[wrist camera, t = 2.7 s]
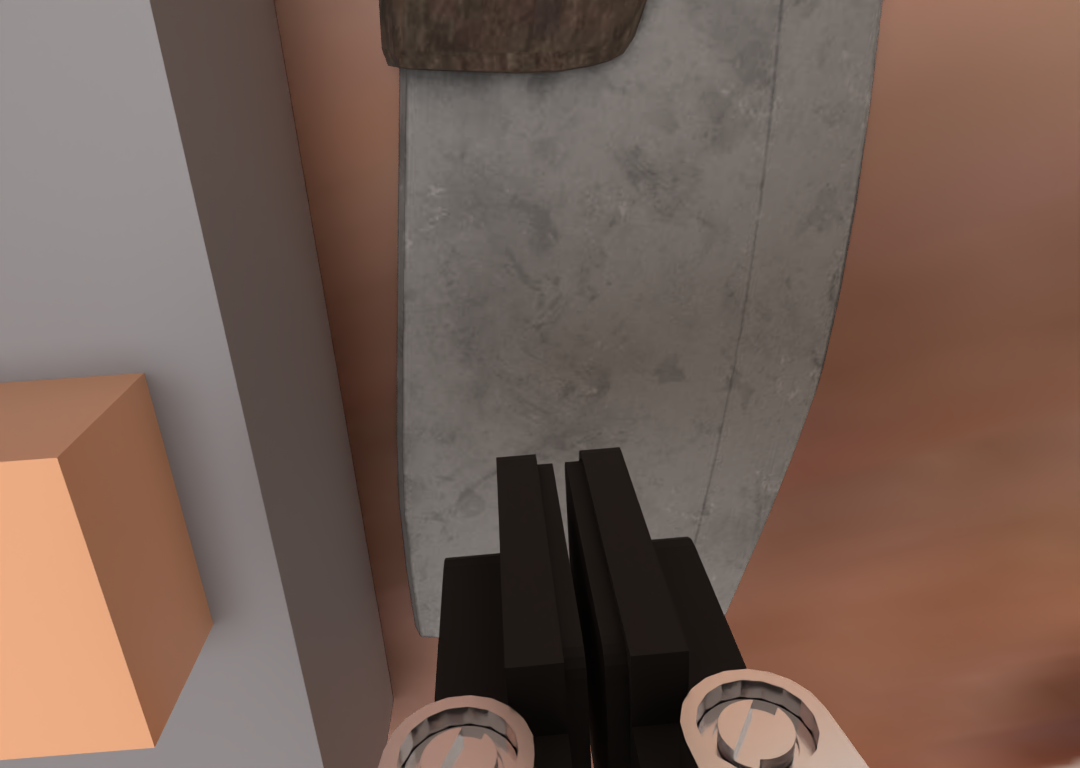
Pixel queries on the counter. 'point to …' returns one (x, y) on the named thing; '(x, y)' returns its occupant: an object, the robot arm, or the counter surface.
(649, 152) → the cleaver
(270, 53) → the block
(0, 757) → the terracotta tile
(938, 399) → the counter surface
